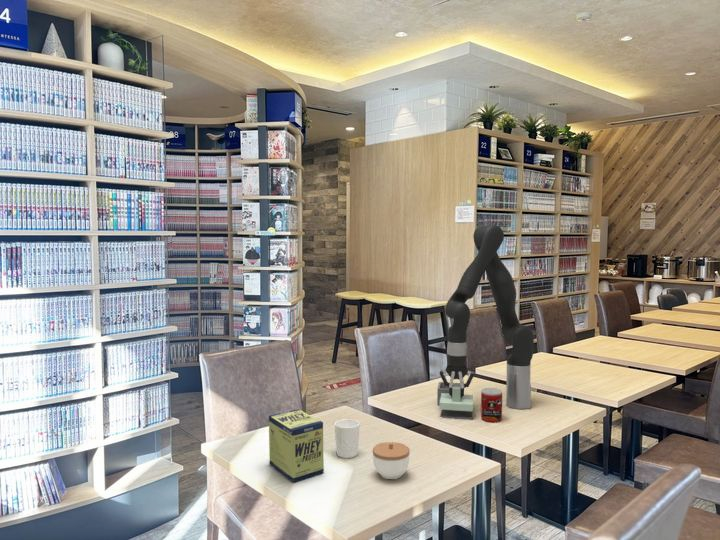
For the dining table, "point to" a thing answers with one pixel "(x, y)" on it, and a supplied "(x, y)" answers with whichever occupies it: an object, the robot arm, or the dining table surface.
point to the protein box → (296, 445)
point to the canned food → (491, 405)
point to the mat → (457, 414)
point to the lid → (456, 400)
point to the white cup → (347, 438)
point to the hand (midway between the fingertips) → (456, 396)
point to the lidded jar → (391, 459)
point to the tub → (441, 391)
